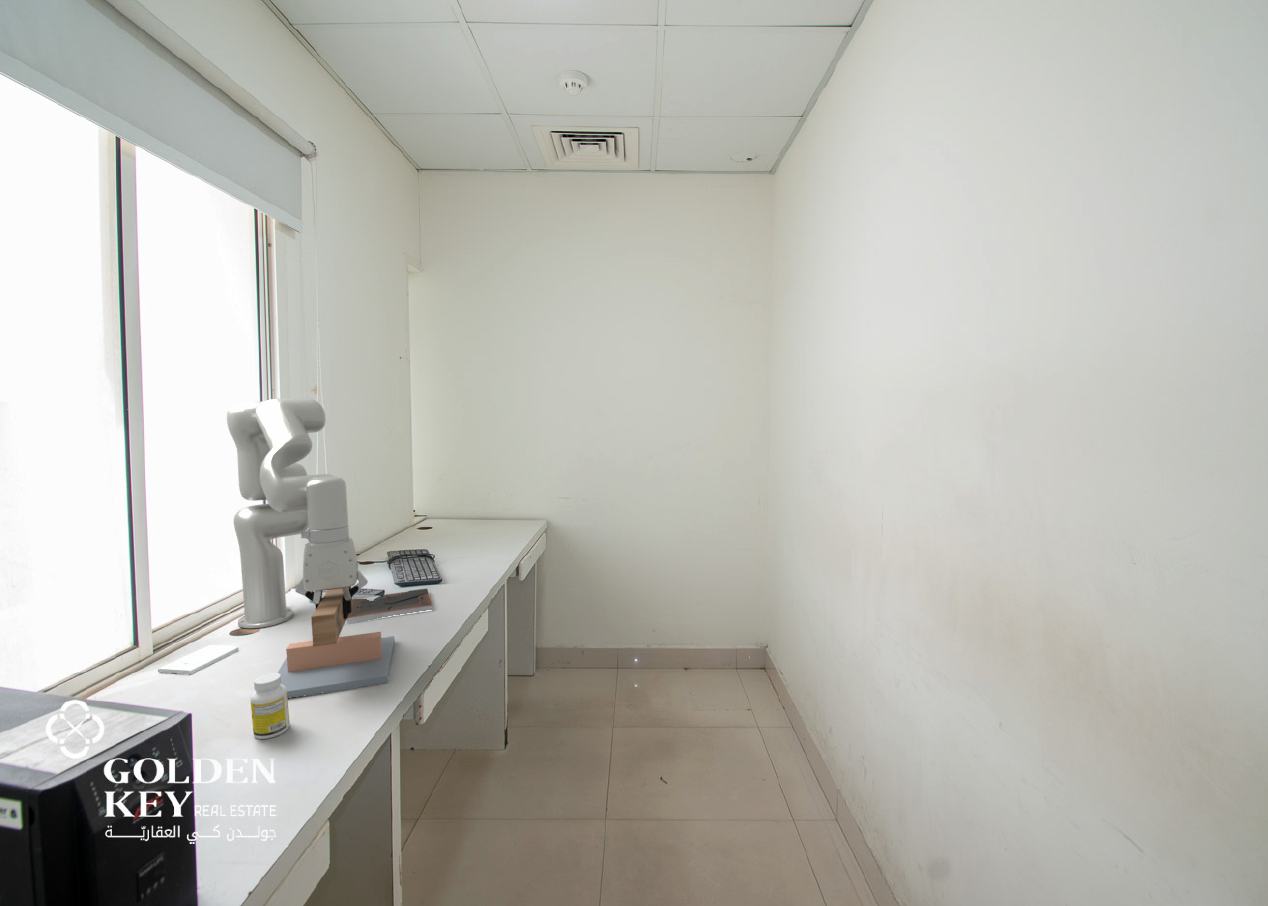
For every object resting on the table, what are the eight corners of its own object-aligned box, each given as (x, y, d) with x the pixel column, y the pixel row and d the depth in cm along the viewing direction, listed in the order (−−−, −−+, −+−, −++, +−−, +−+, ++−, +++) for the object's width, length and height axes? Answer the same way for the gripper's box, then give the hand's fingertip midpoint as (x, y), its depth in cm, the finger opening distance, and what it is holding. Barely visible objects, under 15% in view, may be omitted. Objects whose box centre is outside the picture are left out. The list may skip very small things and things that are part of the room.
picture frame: (427, 596, 174) (349, 607, 165) (427, 588, 174) (348, 598, 165) (432, 613, 159) (346, 626, 150) (432, 604, 159) (346, 617, 150)
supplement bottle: (264, 723, 102) (260, 671, 101) (295, 722, 103) (292, 669, 102) (246, 741, 97) (242, 686, 96) (279, 739, 97) (275, 684, 96)
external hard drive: (238, 653, 134) (190, 677, 122) (208, 651, 135) (157, 675, 123) (238, 646, 134) (190, 670, 122) (208, 644, 135) (157, 668, 123)
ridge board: (291, 656, 130) (289, 629, 130) (394, 642, 138) (393, 616, 137) (264, 702, 110) (262, 670, 109) (387, 682, 117) (386, 652, 116)
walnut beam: (333, 607, 133) (332, 582, 133) (352, 605, 135) (350, 580, 134) (313, 646, 111) (311, 616, 110) (335, 643, 112) (334, 614, 112)
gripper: (280, 542, 115) (286, 630, 116) (370, 535, 121) (374, 618, 122) (288, 535, 122) (294, 618, 123) (373, 528, 128) (378, 607, 129)
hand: (334, 617), depth 123 cm, fingers closed on walnut beam, 4 cm apart
